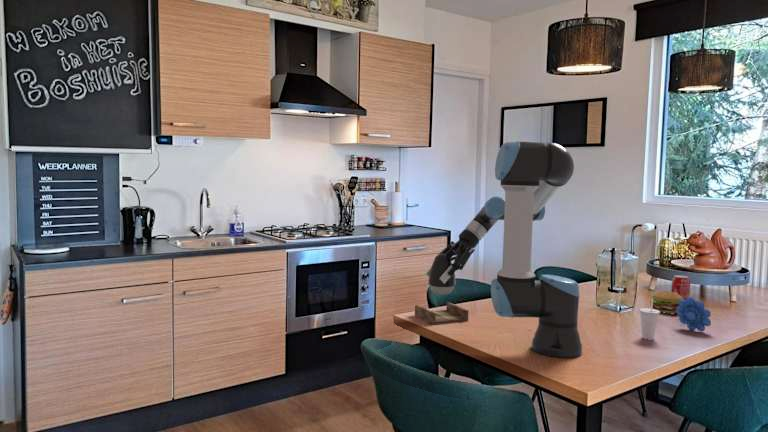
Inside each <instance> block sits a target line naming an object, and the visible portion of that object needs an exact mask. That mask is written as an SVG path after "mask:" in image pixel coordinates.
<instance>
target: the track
mask: <svg viewBox="0 0 768 432" xmlns="http://www.w3.org/2000/svg"><path fill="white" fill-rule="evenodd" d="M414 316H415V317H417V318H419V319H421V320H423V321H425V322H426V323H429V324H430V325H432V326H434V325H444V324H446V325H447V324H453V323H462V322H469V309H466V308H463V307H461V306H459V305H457V304H455V303H452V302H449V301H448V302H446V309H442V310H429V309H427V308H425V307H422V306H421V305H418V304H416V305H414Z"/></svg>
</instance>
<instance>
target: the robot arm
mask: <svg viewBox="0 0 768 432" xmlns="http://www.w3.org/2000/svg"><path fill="white" fill-rule="evenodd" d="M574 169H575V165H574V160H573V157H572V155H571V153H570V152H569V151H568V150H567V149H566V148H565V147H563V145H561V144H558V143H555V142H535V141H517V140H516V141H510V142H509V141H508V142H507V141H506V142H504V143H502V145H501V146H500V148H499V150H498V153H497V156H496V161H495V167H494V176H495V179H496V180H498V181H500V187H501V188H502V189H503V190H504V194H505V195H504V198H503V197H501V196H498V195H497V196H496V195H495V196H492V197H490V198H489V199H488V200H486V202H485V203H484V205H483V206H482V208H480V210H479V211H478V213H477V214H476V215H475V216H474V217H473V218H472V220H471V221H470V222H469V223H468V224H467V225H466V226H465V228H464V229H463V230H462V231H461V232H460V233H459V235H458V241H456V242H454V241H450V243H449V244H448V245H447V246H446V247H445V248H444V249H442V250H441V251H440V252H439V253H438V254H437V255H439V254H446V255H448V257H449V258H451V257H455V256H456V258H455V260H453V263H452V264H451V265H452V266H453V267H452V266H451V265H450V267H449V268H448V269H447V270H446V271H445V272H444V274H443V275H442V276H441V277H440V278H439V279H440V280H441V281H442V282H443V283H444V284H445V283H446V282H447V280H448V279H449V278H450V277H451V276H452V275H453V274H454V272H455V273H456V272H457V271H458V270H460V271H462V270H463V269H464V267H465V266H466V264H467V262H468V260H469V259H470V257H471V256H472V254H474V252H475V248H476V247H477V246H478V244H479V243H480V241H482V239H484V238H485V236H486V235H487V233H488V232H490V230H491V228H493V227H494V226H495V225H496V223H497V222H498V221H503V245H502V267H501V268H500V270H499V271H497V273H496V276H497V277H496V278H494V279H491V281H490V282H491V283H490V296H491V302H492V305H493V308H494V312H495V313H496V314H497V315H498V316H499V317H502V318H511V319H514V318H535V319H536V318H538V325H537V328H536V330H535V333H534V337H533V338H532V341H531V349H532V351H534V352H536V353H538V354H541V355H544V356H547V357H554V358H564V359H565V358H567V359H570V358H576V357H579V356H581V355H582V353H583V344H582V342H581V338H580V333H579V329H578V319H579V304H580V301H579V300H580V286H579V284H578V282H577V281H576V280H574V279H571V278H568V277H564V276H559V275H555V274H554V275H553V274H541V275H540V277H539V279H536V273H534V272H533V270H532V247H533V246H532V245H533V227H534V226H533V223H534V222H535V221H542V220H543V219H544V218H545V215H546V205H547V203H548V202H549V201H550V199H551V198H552V197H553V196H554V195H555V193H556V192H557V190H558V189H559V188H560V187H563V186H565V185H566V184H567V183H568V182H569V181H570V180H571V178H572V176H573V175H574V172H575V171H574ZM435 258H436V256H434V259H435ZM430 270H431V267H429V268H428V269H427V271H426V273H425V274H426V276H427V277H429V274H430Z"/></svg>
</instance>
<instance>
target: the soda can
mask: <svg viewBox="0 0 768 432" xmlns="http://www.w3.org/2000/svg"><path fill="white" fill-rule="evenodd" d="M671 280H672V282H671V291H670V292H673V293H676V294H678V295H680V296H681V297H682V299H683V300H685V301H686V299H687V298H688V297H690V293H691V280H690V277H689V276H688V275H682V274H681V275H680V274H674V275H673V278H672V279H671Z"/></svg>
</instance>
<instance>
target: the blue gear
mask: <svg viewBox="0 0 768 432" xmlns="http://www.w3.org/2000/svg"><path fill="white" fill-rule="evenodd" d="M679 305H680V307H677V308H676V312H677V314H676V315H679V318H678V321H679V322H680V323H681V324H683V325H686V327H687V329H688V330H689V331H692V330H693V331H695V330H697V331H699V332H704V331H705V329H706V327H710V326H711V325H712V323H711V322H712V321H711V320H710V317H711V316H712V315H711V312H710V310H709V309H707V308H705V303H704V302H703V301H701V300H697V301H696V300H695V299H694V298H693V297H691V296H689V297H688V298H687V299H686V301H685V300H683V299H681V300H680V301H679Z"/></svg>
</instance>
